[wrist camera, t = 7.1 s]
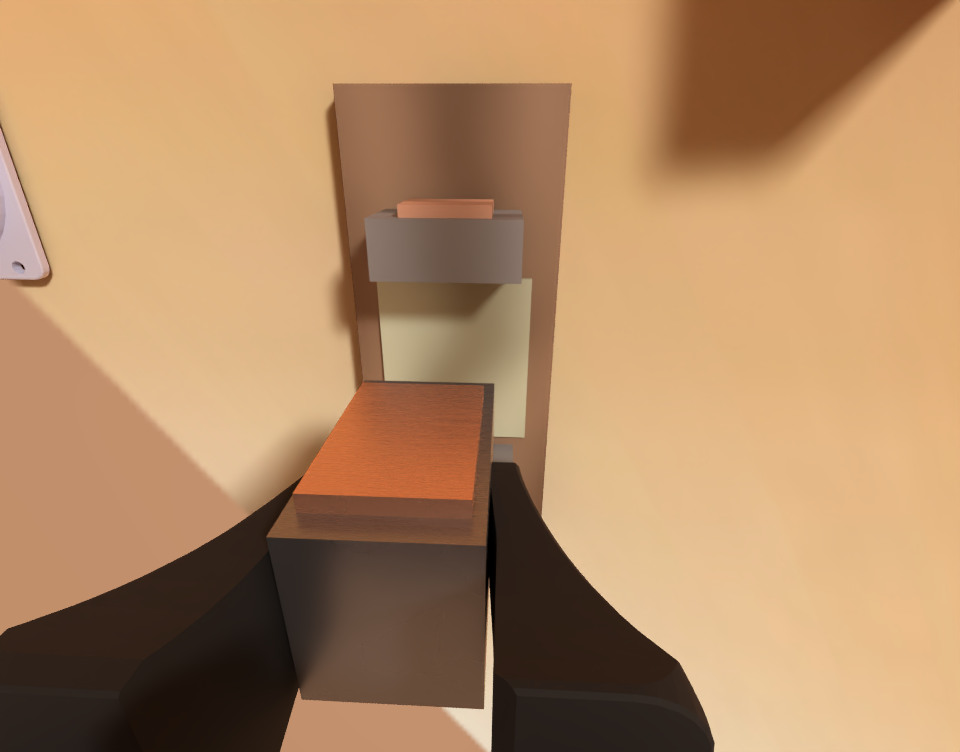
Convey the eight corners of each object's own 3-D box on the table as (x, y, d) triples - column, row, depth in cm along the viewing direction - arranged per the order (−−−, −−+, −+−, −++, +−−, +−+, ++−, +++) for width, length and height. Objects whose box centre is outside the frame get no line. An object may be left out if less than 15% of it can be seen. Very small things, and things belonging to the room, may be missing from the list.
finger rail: (383, 528, 26) (363, 590, 22) (341, 87, 18) (298, 70, 14) (537, 534, 25) (543, 598, 22) (568, 87, 17) (584, 69, 14)
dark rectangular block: (376, 500, 15) (301, 699, 10) (363, 366, 13) (261, 517, 8) (492, 504, 15) (483, 709, 9) (494, 369, 13) (486, 525, 8)
